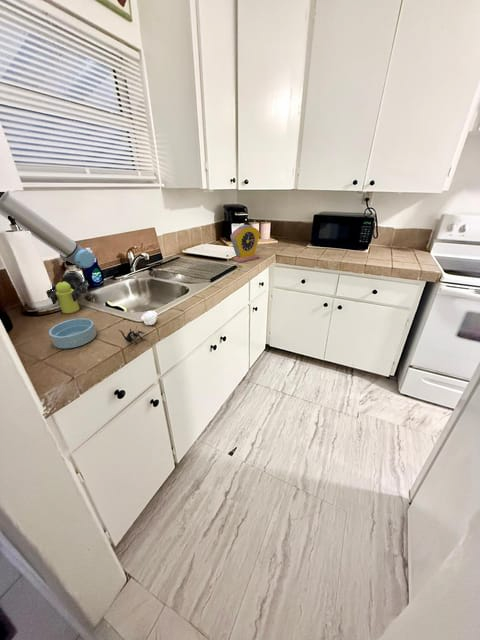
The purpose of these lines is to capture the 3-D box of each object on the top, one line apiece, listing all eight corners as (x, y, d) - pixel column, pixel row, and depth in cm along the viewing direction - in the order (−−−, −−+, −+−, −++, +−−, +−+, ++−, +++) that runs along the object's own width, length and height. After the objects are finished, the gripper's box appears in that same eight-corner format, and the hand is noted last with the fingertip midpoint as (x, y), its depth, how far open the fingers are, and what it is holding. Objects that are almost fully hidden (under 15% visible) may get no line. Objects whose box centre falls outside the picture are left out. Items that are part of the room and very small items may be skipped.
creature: (136, 335, 89) (116, 341, 82) (136, 320, 87) (116, 325, 80) (153, 341, 86) (134, 348, 79) (154, 325, 84) (134, 331, 77)
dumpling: (162, 321, 96) (160, 313, 93) (151, 329, 92) (149, 321, 90) (148, 314, 98) (146, 306, 95) (138, 322, 95) (135, 314, 92)
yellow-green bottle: (58, 312, 102) (46, 280, 96) (69, 306, 107) (58, 275, 101) (72, 313, 101) (61, 281, 95) (82, 307, 106) (73, 276, 100)
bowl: (44, 348, 80) (39, 335, 78) (71, 328, 91) (67, 317, 88) (80, 351, 79) (76, 338, 76) (104, 331, 89) (101, 319, 87)
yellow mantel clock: (237, 263, 163) (237, 227, 153) (228, 260, 169) (227, 225, 159) (262, 257, 176) (263, 224, 166) (252, 255, 182) (253, 222, 172)
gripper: (98, 285, 121) (94, 304, 102) (50, 291, 114) (37, 312, 95) (93, 269, 117) (89, 286, 98) (44, 275, 111) (29, 293, 92)
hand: (63, 299), depth 97 cm, fingers closed on yellow-green bottle, 6 cm apart
